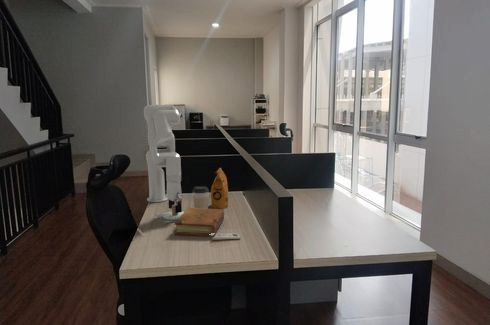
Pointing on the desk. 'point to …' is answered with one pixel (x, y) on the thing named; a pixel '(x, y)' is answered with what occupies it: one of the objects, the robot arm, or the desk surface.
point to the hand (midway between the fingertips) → (175, 210)
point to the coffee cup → (200, 197)
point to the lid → (172, 214)
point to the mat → (164, 219)
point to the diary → (199, 221)
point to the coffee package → (219, 191)
